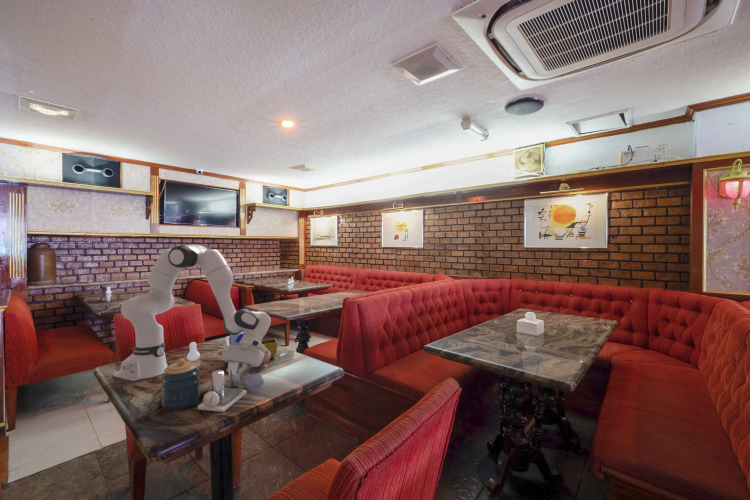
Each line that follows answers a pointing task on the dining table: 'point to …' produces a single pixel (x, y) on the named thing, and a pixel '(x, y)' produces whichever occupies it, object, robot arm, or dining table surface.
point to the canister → (180, 385)
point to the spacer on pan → (218, 383)
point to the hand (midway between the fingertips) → (233, 372)
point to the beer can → (236, 338)
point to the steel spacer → (234, 373)
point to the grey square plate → (229, 395)
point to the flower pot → (271, 346)
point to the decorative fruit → (266, 358)
